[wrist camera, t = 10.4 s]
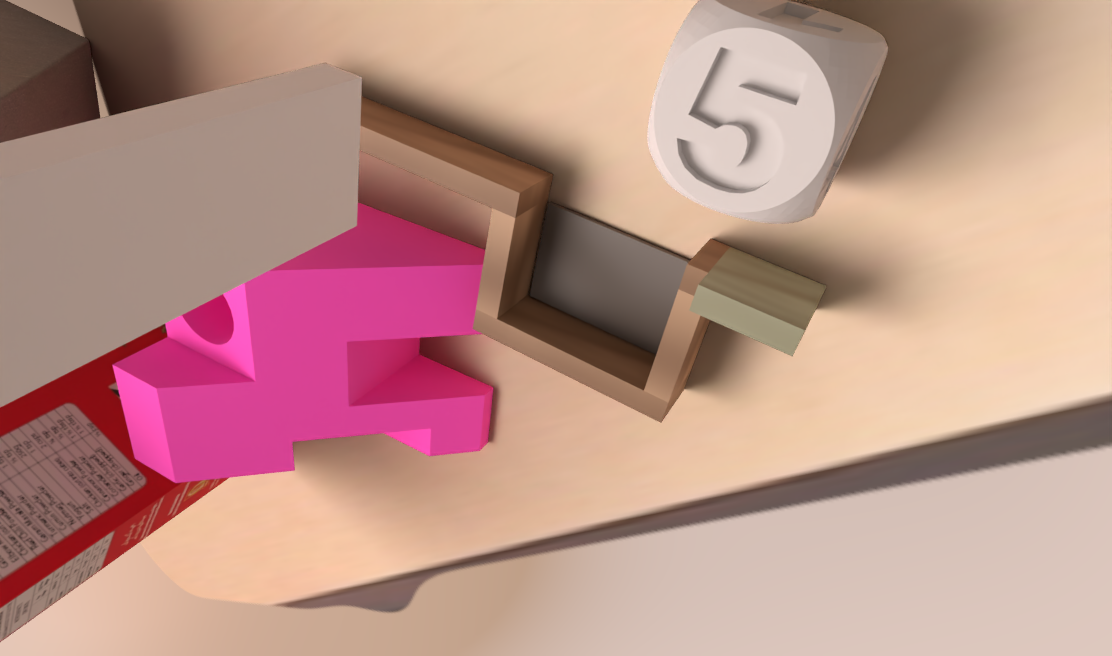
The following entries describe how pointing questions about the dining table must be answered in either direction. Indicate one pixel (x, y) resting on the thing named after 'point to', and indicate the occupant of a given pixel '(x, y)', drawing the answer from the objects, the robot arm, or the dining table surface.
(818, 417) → the dining table surface
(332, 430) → the bracket
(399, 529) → the dining table surface
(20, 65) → the planter
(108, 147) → the robot arm
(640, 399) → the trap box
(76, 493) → the food packaging
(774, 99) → the die
